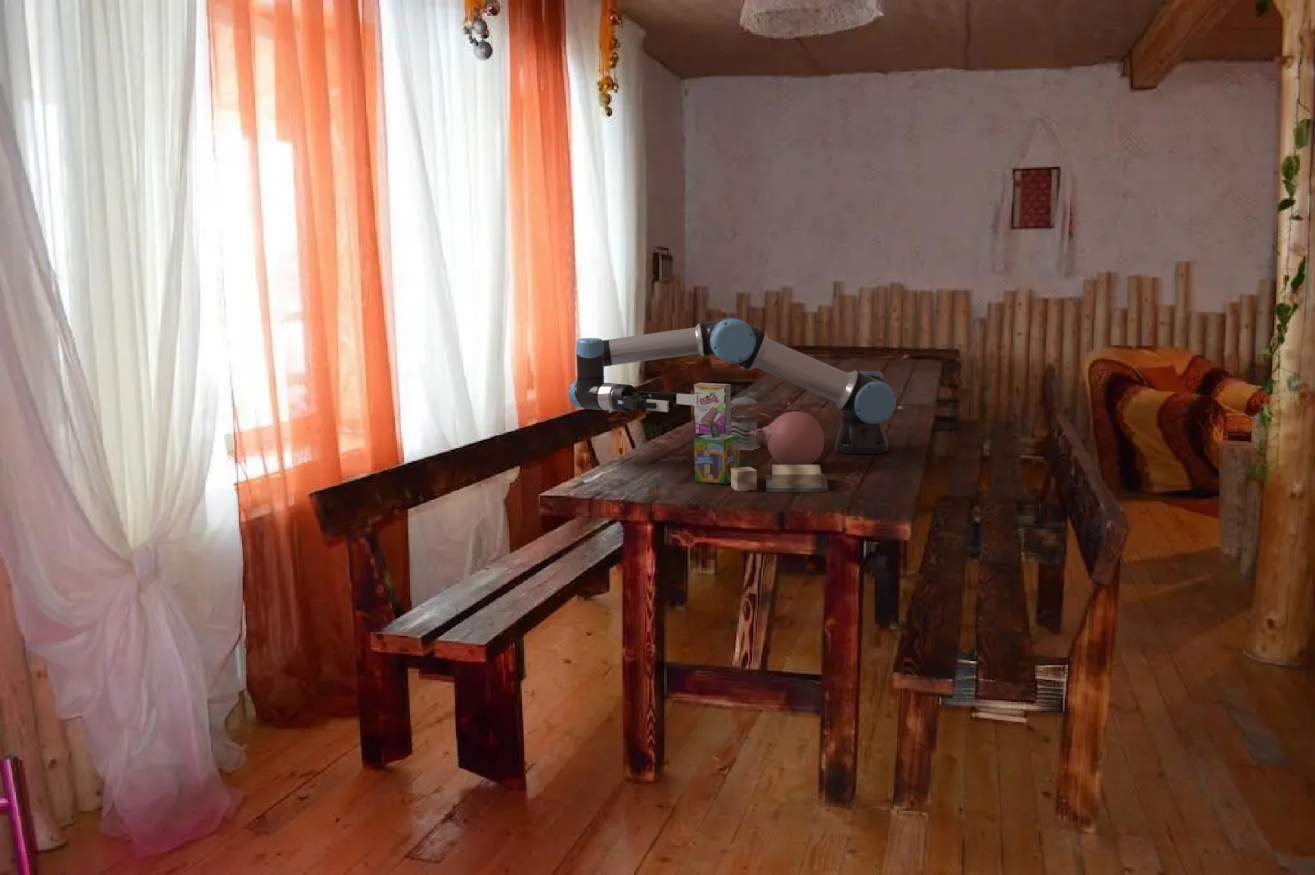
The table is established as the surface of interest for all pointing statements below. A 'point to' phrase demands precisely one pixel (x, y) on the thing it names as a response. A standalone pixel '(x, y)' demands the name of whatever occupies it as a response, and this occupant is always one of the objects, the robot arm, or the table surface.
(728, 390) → the candy bar box
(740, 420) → the french press
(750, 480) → the birch block
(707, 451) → the chalk box
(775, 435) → the balloon
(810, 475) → the plinth
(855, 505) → the table surface
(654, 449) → the table surface
